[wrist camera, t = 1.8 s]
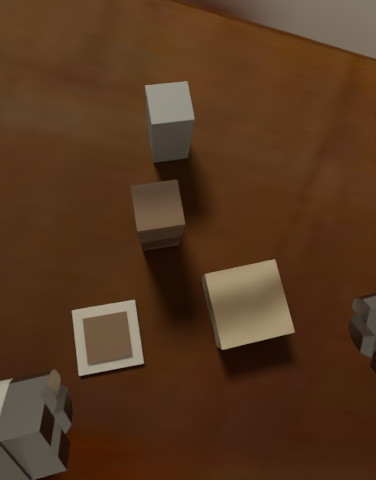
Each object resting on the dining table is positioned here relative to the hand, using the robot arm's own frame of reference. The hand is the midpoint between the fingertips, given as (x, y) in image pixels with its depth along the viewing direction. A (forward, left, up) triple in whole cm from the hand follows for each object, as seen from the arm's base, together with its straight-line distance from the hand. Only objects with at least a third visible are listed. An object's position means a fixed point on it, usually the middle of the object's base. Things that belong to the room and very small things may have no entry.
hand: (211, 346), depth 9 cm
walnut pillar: (+5, +9, -31) cm, 33 cm away
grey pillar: (+13, +17, -31) cm, 38 cm away
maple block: (+7, -4, -31) cm, 32 cm away
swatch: (-7, +3, -31) cm, 32 cm away
